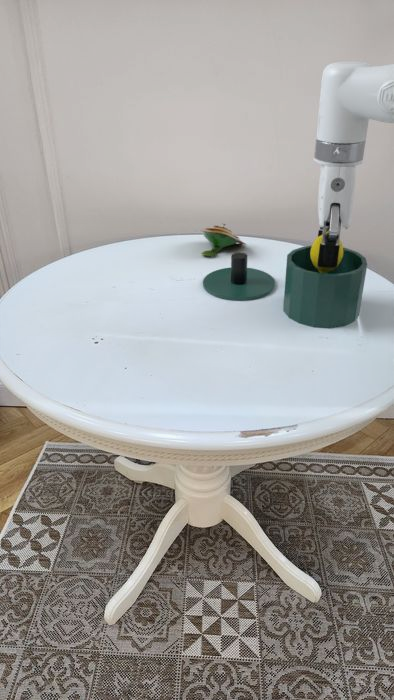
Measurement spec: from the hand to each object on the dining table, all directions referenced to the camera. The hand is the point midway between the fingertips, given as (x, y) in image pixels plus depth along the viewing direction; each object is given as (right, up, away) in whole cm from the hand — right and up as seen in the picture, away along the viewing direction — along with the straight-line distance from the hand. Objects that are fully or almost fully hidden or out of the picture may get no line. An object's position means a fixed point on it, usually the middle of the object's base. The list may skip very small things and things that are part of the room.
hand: (326, 258), depth 93 cm
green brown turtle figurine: (-17, +7, +32) cm, 37 cm away
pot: (0, -9, +6) cm, 11 cm away
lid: (-14, -3, +15) cm, 21 cm away
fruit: (0, -3, +2) cm, 3 cm away
